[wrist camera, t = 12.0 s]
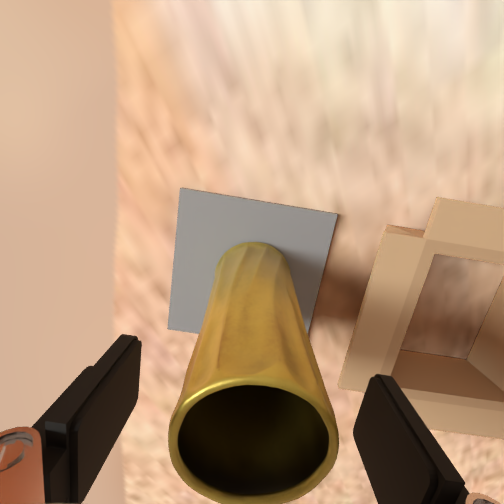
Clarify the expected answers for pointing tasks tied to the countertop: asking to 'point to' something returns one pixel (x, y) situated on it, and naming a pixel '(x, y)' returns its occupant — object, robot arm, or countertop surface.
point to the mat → (236, 232)
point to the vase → (253, 390)
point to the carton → (400, 313)
